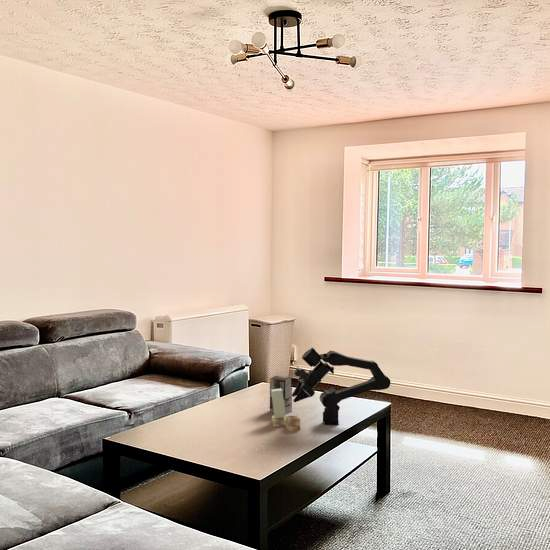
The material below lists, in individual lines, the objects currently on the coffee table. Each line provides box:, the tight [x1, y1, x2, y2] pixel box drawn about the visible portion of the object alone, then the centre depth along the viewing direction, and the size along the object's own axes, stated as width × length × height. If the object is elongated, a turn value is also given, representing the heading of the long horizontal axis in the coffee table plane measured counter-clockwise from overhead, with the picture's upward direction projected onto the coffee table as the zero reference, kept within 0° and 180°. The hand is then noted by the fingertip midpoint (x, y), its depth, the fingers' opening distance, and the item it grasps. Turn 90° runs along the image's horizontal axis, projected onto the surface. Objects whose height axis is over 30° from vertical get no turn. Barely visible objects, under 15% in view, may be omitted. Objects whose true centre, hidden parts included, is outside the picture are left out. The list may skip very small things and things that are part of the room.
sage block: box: [271, 388, 287, 418], centre depth 264 cm, size 4×4×12 cm
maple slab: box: [271, 414, 288, 427], centre depth 264 cm, size 7×7×3 cm
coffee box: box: [269, 375, 293, 415], centre depth 283 cm, size 9×6×16 cm
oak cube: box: [285, 415, 301, 431], centre depth 257 cm, size 5×5×5 cm
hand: (293, 398), depth 264 cm, fingers open, 9 cm apart
